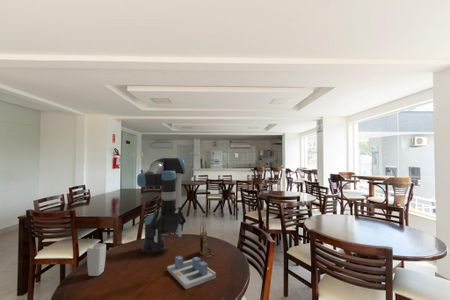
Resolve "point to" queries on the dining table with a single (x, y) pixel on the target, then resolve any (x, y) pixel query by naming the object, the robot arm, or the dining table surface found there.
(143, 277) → the dining table surface
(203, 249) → the multimeter
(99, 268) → the cup
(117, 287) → the dining table surface
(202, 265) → the tab
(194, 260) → the tab
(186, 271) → the switch bank
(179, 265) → the tab
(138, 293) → the dining table surface
